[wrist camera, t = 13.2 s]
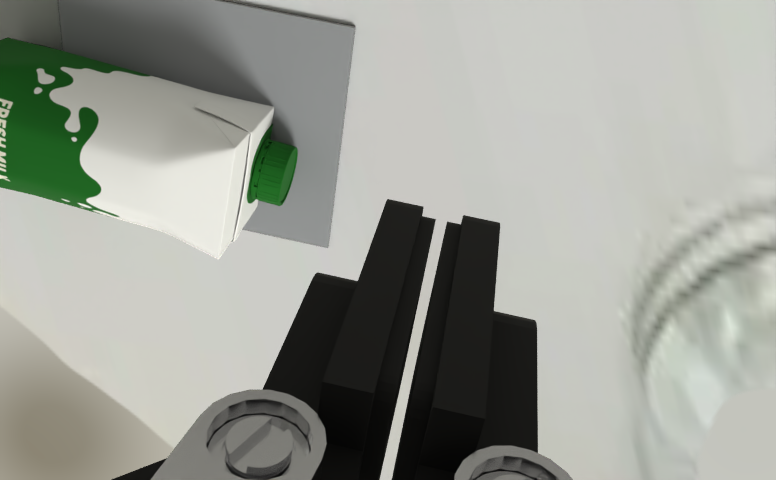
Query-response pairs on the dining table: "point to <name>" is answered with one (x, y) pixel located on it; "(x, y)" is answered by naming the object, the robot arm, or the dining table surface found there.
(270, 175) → the white and green box
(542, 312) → the dining table surface
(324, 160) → the placemat
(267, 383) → the robot arm
